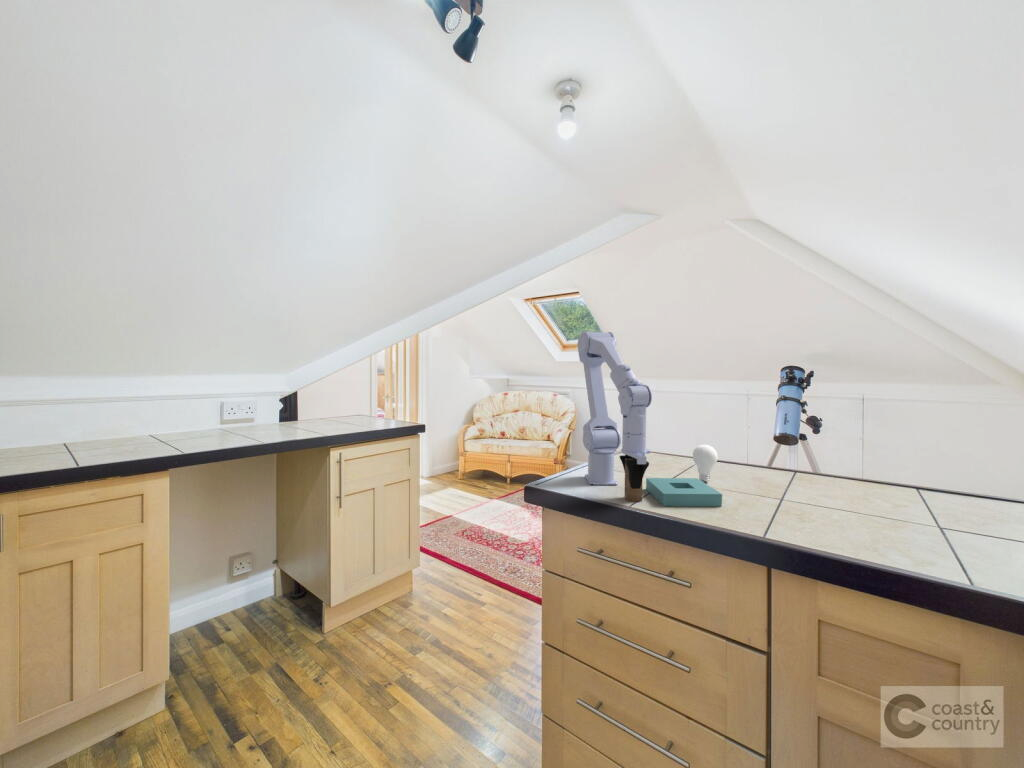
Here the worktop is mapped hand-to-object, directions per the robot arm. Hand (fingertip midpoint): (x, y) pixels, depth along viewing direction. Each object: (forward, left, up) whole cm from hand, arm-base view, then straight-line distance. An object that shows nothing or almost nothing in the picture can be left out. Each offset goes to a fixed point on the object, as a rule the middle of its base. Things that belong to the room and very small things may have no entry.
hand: (633, 485), depth 107 cm
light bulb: (-16, +25, -4) cm, 30 cm away
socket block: (-2, +13, -3) cm, 14 cm away
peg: (0, 0, -3) cm, 3 cm away
